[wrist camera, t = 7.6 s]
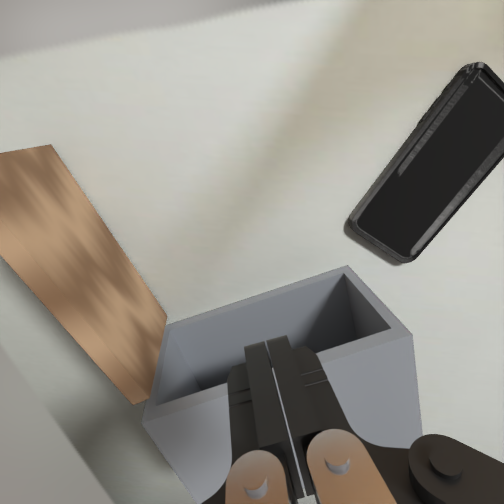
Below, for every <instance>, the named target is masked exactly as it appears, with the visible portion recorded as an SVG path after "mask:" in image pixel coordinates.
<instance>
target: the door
mask: <svg viewBox="0 0 504 504" xmlns="http://www.w3.org/2000/svg"><path fill="white" fill-rule="evenodd" d="M0 255H1V256H2V257H3V258H4V260H5V261H6V262H7V263H8V264H9V265H10V266H11V268H12V269H13V270H14V271H15V272H16V273H17V274H18V275H19V277H20V278H21V279H22V280H23V281H24V282H25V283H26V285H27V286H28V287H29V288H30V289H31V290H32V291H33V292H34V294H35V295H36V296H37V297H38V298H39V299H40V300H41V302H42V303H43V304H44V305H45V306H46V307H47V308H48V310H49V311H50V312H51V313H52V314H53V315H54V316H55V317H56V319H57V320H58V321H59V322H60V323H61V324H62V325H63V327H64V328H65V329H66V330H67V331H68V332H69V333H70V334H71V336H72V337H73V338H74V339H75V340H76V341H77V342H78V344H79V345H80V346H81V347H82V348H83V349H84V350H85V352H86V353H87V354H88V355H89V356H90V357H91V358H92V359H93V361H94V362H95V363H96V364H97V365H98V366H99V367H100V369H101V370H102V371H103V372H104V373H105V374H106V375H107V376H108V378H109V379H110V380H111V381H112V382H113V383H114V384H115V386H116V387H117V388H118V389H119V390H120V391H121V392H122V394H123V395H124V396H125V397H126V398H127V399H128V400H129V401H130V403H131V404H132V405H135V404H137V403H140V402H142V401H144V400H147V399H149V398H150V395H151V390H152V385H153V381H154V376H155V371H156V367H157V362H158V357H159V353H160V348H161V343H162V339H163V334H164V329H165V325H166V320H167V315H166V313H165V312H164V310H163V309H162V307H161V306H160V304H159V303H158V301H157V300H156V299H155V297H154V296H153V294H152V293H151V291H150V290H149V288H148V287H147V285H146V284H145V282H144V281H143V279H142V278H141V276H140V275H139V273H138V272H137V271H136V269H135V268H134V266H133V265H132V263H131V262H130V260H129V259H128V257H127V256H126V254H125V253H124V251H123V250H122V248H121V247H120V245H119V244H118V243H117V241H116V240H115V238H114V237H113V235H112V234H111V232H110V231H109V229H108V228H107V226H106V225H105V223H104V222H103V220H102V219H101V217H100V216H99V215H98V213H97V212H96V210H95V209H94V207H93V206H92V204H91V203H90V201H89V200H88V198H87V197H86V195H85V194H84V192H83V191H82V189H81V188H80V187H79V185H78V184H77V182H76V181H75V179H74V178H73V176H72V175H71V173H70V172H69V170H68V169H67V167H66V166H65V164H64V163H63V161H62V160H61V159H60V157H59V156H58V154H57V153H56V151H55V150H54V148H53V147H52V145H45V146H39V147H33V148H28V149H22V150H16V151H10V152H4V153H0Z"/></svg>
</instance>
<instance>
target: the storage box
mask: <svg viewBox="0 0 504 504" xmlns="http://www.w3.org/2000/svg"><path fill="white" fill-rule="evenodd" d="M284 335H287V337H288V340H289V343H290V345H291V348H292V350H293V349H297V348H301V347H304V346H307V347H308V348H309V349H310V350H311V351H313V352H314V353H315V354H316V355H317V356H318V358H319V360H320V362H321V365H322V367H323V370H324V371H325V373H326V375H327V378H328V381H329V382H330V384H331V386H332V388H333V391H334V393H335V395H336V397H337V399H338V401H339V404H340V406H341V408H342V410H343V412H344V414H345V416H346V419H347V421H348V423H349V425H350V426H351V428H352V429H353V431H354V432H355V433H356V434H357V435H358V436H360V437H361V438H362V439H364V440H365V441H367V442H369V443H372V444H374V445H378V446H382V447H393V448H408V449H410V446H411V445H412V443H413V442H414V441H415V440H416V439H418V438H419V437H421V436H423V433H422V423H421V413H420V404H419V394H418V384H417V374H416V365H415V355H414V345H413V335H412V333H411V332H410V331H409V330H408V329H407V328H406V327H405V326H404V325H403V324H402V323H401V322H400V320H399V319H398V318H397V317H396V316H395V315H394V314H393V313H392V312H391V311H390V310H389V309H388V308H387V307H386V305H385V304H384V303H383V302H382V301H381V300H380V299H379V298H378V297H377V296H376V295H375V294H374V293H373V292H372V290H371V289H370V288H369V287H368V286H367V285H366V284H365V283H364V282H363V281H362V280H361V279H360V278H359V277H358V275H357V274H356V273H355V272H354V271H353V270H352V269H351V268H350V267H349V266H348V265H347V266H344V267H341V268H338V269H335V270H332V271H329V272H326V273H323V274H320V275H317V276H314V277H311V278H308V279H305V280H302V281H299V282H296V283H293V284H290V285H287V286H284V287H281V288H277V289H274V290H271V291H268V292H265V293H262V294H259V295H256V296H253V297H250V298H247V299H244V300H241V301H238V302H235V303H232V304H229V305H226V306H223V307H220V308H217V309H214V310H211V311H208V312H205V313H202V314H199V315H196V316H193V317H190V318H187V319H184V320H181V321H178V322H175V323H172V324H169V325H166V326H165V329H164V334H163V339H162V343H161V348H160V353H159V357H158V362H157V367H156V371H155V376H154V381H153V385H152V390H151V395H150V398H149V399H147V400H146V404H145V408H144V412H143V417H142V421H141V424H142V426H143V427H144V429H145V430H146V432H147V433H148V434H149V436H150V437H151V439H152V440H153V442H154V443H155V445H156V446H157V447H158V449H159V450H160V452H161V453H162V455H163V456H164V458H165V459H166V460H167V462H168V463H169V465H170V466H171V468H172V469H173V471H174V472H175V473H176V475H177V476H178V478H179V479H180V481H181V482H182V484H183V485H184V486H185V488H186V489H187V491H188V492H189V494H190V495H191V497H192V498H193V499H194V501H195V502H196V504H201V503H203V502H204V501H206V500H207V499H208V498H210V497H211V496H212V495H214V494H215V493H216V492H217V491H218V490H219V489H220V487H221V486H222V485H223V483H224V482H225V480H226V478H227V476H228V473H229V471H230V468H231V463H232V450H231V434H230V419H229V404H228V389H227V379H228V376H229V373H230V371H231V368H232V366H235V365H239V364H243V363H246V358H245V352H244V346H248V345H251V344H255V343H259V342H262V341H265V345H266V349H267V352H268V356H269V360H270V364H271V367H272V371H273V375H274V378H275V382H276V386H277V390H278V394H279V398H280V402H281V406H282V410H283V414H284V418H285V421H286V425H287V429H288V433H289V437H290V441H291V445H292V449H293V453H294V457H295V461H296V465H297V469H298V473H299V477H300V481H301V485H302V489H303V488H305V487H304V483H303V479H302V475H301V472H300V468H299V464H298V461H297V457H296V453H295V449H294V446H293V442H292V438H291V434H290V430H289V427H288V423H287V419H286V415H285V411H284V407H283V403H282V400H281V396H280V392H279V388H278V384H277V380H276V376H275V373H274V369H273V365H272V361H271V357H270V353H269V349H268V346H267V342H266V340H269V339H273V338H277V337H280V336H284Z"/></svg>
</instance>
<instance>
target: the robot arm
mask: <svg viewBox="0 0 504 504" xmlns="http://www.w3.org/2000/svg"><path fill="white" fill-rule="evenodd" d="M266 342H267V346H268V349H269V353H270V357H271V361H272V365H273V369H274V373H275V376H276V380H277V384H278V388H279V392H280V396H281V400H282V403H283V407H284V411H285V415H286V419H287V423H288V427H289V430H290V434H291V438H292V442H293V446H294V449H295V453H296V457H297V461H298V464H299V468H300V472H301V475H302V479H303V483H304V487H305V490H306V494H307V496H310V495H313V494H314V495H315V498H316V502H317V504H504V463H502V462H500V461H498V460H496V459H494V458H492V457H490V456H488V455H485V454H483V453H481V452H479V451H477V450H475V449H473V448H471V447H469V446H467V445H465V444H463V443H461V442H459V441H457V440H455V439H452V438H450V437H447V436H444V435H438V434H429V435H424V436H421V437H419V438H418V439H416V440H415V441H414V442H413V443H412V445H411V446H410V449H408V448H393V447H382V446H378V445H374V444H372V443H369V442H367V441H365V440H364V439H362V438H361V437H360V436H358V435H357V434H356V433H355V432H354V431H353V429H352V428H351V426H350V425H349V423H348V421H347V419H346V416H345V414H344V412H343V410H342V408H341V406H340V404H339V401H338V399H337V397H336V395H335V393H334V391H333V388H332V386H331V384H330V382H329V381H328V378H327V375H326V373H325V371H324V370H323V367H322V365H321V362H320V360H319V358H318V356H317V355H316V354H315V353H314V352H313V351H311V350H310V349H309V348H308V347H307V346H304V347H301V348H297V349H293V350H292V348H291V345H290V343H289V340H288V337H287V335H284V336H280V337H277V338H273V339H269V340H266ZM244 352H245V358H246V363H243V364H239V365H235V366H232V368H231V371H230V373H229V376H228V379H227V389H228V404H229V419H230V434H231V450H232V463H231V468H230V471H229V473H228V476H227V478H226V480H225V482H224V483H223V485H222V486H221V487H220V489H219V490H218V491H217V492H216V493H215V494H214V495H212V496H211V497H210V498H208V499H207V500H206V501H204V502H203V503H201V504H298V501H297V499H300V498H303V497H304V493H303V489H302V485H301V481H300V477H299V473H298V469H297V465H296V461H295V457H294V453H293V449H292V445H291V441H290V437H289V433H288V429H287V425H286V421H285V418H284V414H283V410H282V406H281V402H280V398H279V394H278V390H277V386H276V382H275V378H274V375H273V371H272V367H271V364H270V360H269V356H268V352H267V349H266V345H265V341H262V342H259V343H255V344H251V345H248V346H244Z"/></svg>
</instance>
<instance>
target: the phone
mask: <svg viewBox="0 0 504 504" xmlns="http://www.w3.org/2000/svg"><path fill="white" fill-rule="evenodd" d="M503 158H504V83H503V82H502V80H501V79H500V78H499V77H498V76H497V75H496V74H495V73H494V72H493V71H492V70H491V69H490V67H489V66H488V65H487V64H485V63H483V62H476V63H471V64H467V65H465V66H464V67H462V68H461V69H460V70H459V71H458V72H457V74H456V75H455V76H454V78H453V79H452V80H451V82H450V83H449V84H448V86H447V87H446V88H445V90H444V91H443V92H442V94H441V95H440V96H439V97H438V99H437V100H436V101H435V103H434V104H433V105H432V107H431V108H430V109H429V110H428V111H427V113H426V114H425V115H424V117H423V118H422V119H421V121H420V123H419V124H418V125H417V127H416V128H415V129H414V131H413V132H412V133H411V135H410V136H409V137H408V139H407V140H406V141H405V143H404V144H403V145H402V147H401V148H400V149H399V151H398V152H397V153H396V154H395V156H394V157H393V158H392V160H391V161H390V162H389V164H388V165H387V166H386V168H385V169H384V170H383V172H382V173H381V174H380V176H379V177H378V178H377V180H376V181H375V182H374V184H373V185H372V186H371V188H370V189H369V190H368V192H367V193H366V194H365V196H364V197H363V198H362V199H361V201H360V202H359V203H358V205H357V206H356V207H355V209H354V210H353V211H352V213H351V215H350V216H349V226H350V228H351V229H352V230H353V231H355V232H356V233H357V234H359V235H360V236H362V237H363V238H365V239H366V240H368V241H370V242H371V243H373V244H374V245H376V246H377V247H379V248H380V249H382V250H383V251H385V252H386V253H388V254H389V255H391V256H392V257H394V258H395V259H397V260H398V261H400V262H402V263H409V262H412V261H413V260H415V259H416V258H417V257H418V256H419V255H420V254H421V252H422V251H423V250H424V249H425V248H426V247H427V246H428V244H429V243H430V242H431V241H432V240H433V239H434V237H435V236H436V235H437V234H438V233H439V232H440V230H441V229H442V228H443V227H444V226H445V225H446V224H447V222H448V221H449V220H450V219H451V218H452V217H453V215H454V214H455V213H456V212H457V211H458V210H459V209H460V207H461V206H462V205H463V204H464V203H465V202H466V200H467V199H468V198H469V197H470V196H471V195H472V193H473V192H474V191H475V190H476V189H477V188H478V187H479V185H480V184H481V183H482V182H483V181H484V180H485V178H486V177H487V176H488V175H489V174H490V173H491V171H492V170H493V169H494V168H495V167H496V166H497V165H498V163H499V162H500V161H501V160H502V159H503Z"/></svg>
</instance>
